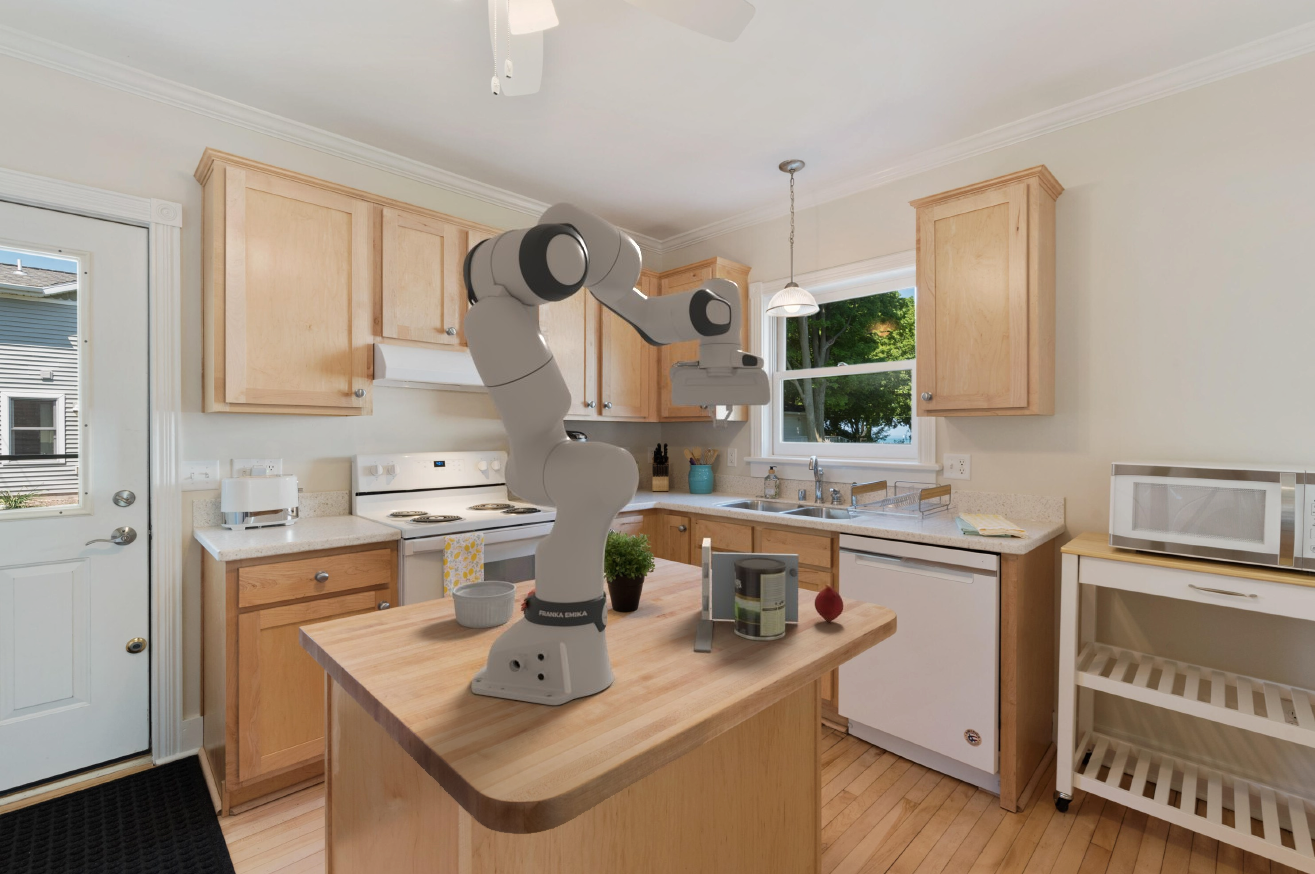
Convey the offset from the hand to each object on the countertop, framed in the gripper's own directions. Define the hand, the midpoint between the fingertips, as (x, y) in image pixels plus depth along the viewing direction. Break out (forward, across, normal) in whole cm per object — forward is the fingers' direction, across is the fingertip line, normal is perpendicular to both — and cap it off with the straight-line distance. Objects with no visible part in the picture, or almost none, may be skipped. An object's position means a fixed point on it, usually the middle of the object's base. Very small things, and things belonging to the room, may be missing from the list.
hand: (720, 428), depth 127 cm
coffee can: (+41, +8, -2) cm, 42 cm away
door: (+41, +7, +3) cm, 41 cm away
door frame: (+41, -3, -1) cm, 41 cm away
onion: (+41, +23, +6) cm, 48 cm away
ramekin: (+41, -50, -1) cm, 65 cm away
